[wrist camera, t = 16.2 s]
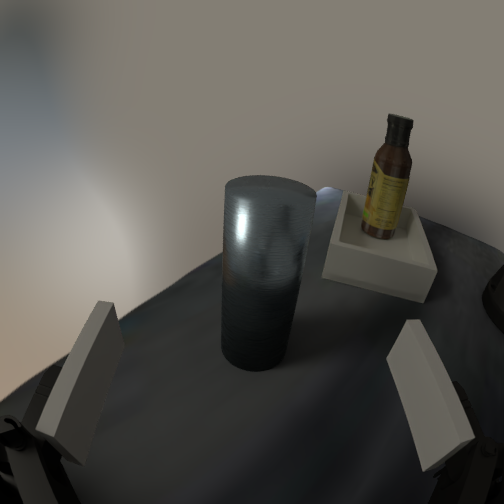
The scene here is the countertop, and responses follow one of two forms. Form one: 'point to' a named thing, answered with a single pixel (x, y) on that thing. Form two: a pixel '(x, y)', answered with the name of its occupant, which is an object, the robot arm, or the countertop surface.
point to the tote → (380, 254)
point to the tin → (262, 266)
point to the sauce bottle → (388, 180)
